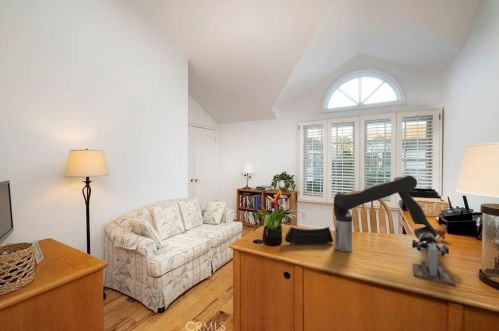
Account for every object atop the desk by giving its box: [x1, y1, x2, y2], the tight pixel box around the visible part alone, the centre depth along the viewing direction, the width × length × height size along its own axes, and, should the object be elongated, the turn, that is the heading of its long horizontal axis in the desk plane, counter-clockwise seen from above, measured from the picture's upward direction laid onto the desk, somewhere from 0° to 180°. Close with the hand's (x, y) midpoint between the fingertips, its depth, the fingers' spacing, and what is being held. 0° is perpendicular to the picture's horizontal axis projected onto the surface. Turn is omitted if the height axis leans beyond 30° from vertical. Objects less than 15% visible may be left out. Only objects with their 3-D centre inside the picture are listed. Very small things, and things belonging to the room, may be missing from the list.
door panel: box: [427, 243, 438, 277], centre depth 101 cm, size 2×8×12 cm, turn 146°
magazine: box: [284, 226, 334, 246], centre depth 138 cm, size 17×3×30 cm
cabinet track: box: [412, 260, 457, 287], centre depth 101 cm, size 14×13×3 cm
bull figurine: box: [421, 224, 447, 242], centre depth 146 cm, size 4×13×8 cm, turn 54°
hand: (431, 251), depth 106 cm, fingers open, 8 cm apart
